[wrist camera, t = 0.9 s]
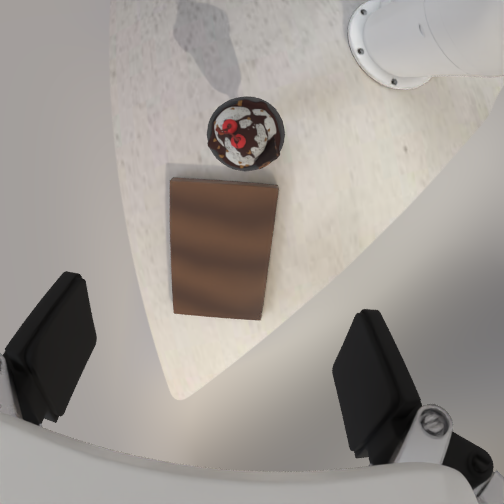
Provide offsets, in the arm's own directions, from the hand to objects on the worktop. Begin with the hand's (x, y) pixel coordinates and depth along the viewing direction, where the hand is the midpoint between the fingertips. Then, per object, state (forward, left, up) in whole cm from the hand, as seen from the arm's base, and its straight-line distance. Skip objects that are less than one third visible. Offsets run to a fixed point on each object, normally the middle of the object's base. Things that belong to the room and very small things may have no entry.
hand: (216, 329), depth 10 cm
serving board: (+13, -2, -29) cm, 32 cm away
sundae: (-4, 0, -30) cm, 30 cm away
